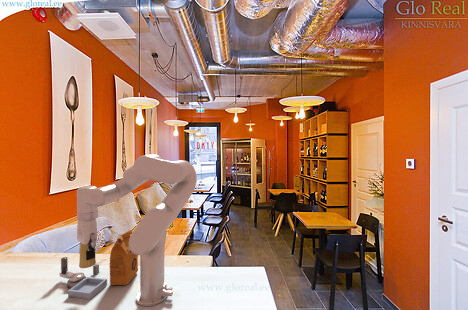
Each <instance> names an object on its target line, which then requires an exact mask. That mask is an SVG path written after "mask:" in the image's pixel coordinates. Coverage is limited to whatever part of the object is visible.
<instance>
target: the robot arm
mask: <svg viewBox="0 0 468 310" xmlns="http://www.w3.org/2000/svg"><path fill="white" fill-rule="evenodd" d="M197 178H198V177H197V172H196V169H195V167H194V165H193V164H192V163H190V162H189V161H187V160H175V161H171V160H166V159H165V160H164V158H163V157H162V156H161V155H158V154H144V155H141V156H139V157H137V158H136V159H135V161H134V162H133V165H132V166H130V167H129V168H127V169H125V170H124V171H123V173H122V178H120V179H119V180H117V181H115V182H113V183H111V184H108V185H105V186H100V187H97V186H95V185H84V186H80V187H78V188H77V189H76V220H77V228H76V240H77V241H78V242H79V243H80V242H81V243H82V244H83V245H87V251H86V260H90V259H93V258H95V259H96V245H97V241H98V224H97V222H98V221H97V219H98V218H99V207H102V206H105V205H108V204H110V203H113V202H117V201H119V200H120V199H122V198H124V197H125V196H126V195H129V194H130V193H132V192H133V191H134V190H136V189H137V188H138V187H140V186H141V185H143V184H145V183H147V182H148V181H155V182H158V183H162V184H167V185H173V186H172V187H171V188H170V189H169V190H168V192H167V194H166V195H165V197H164V198H163V199H162V201H160V203H158V204H157V205H154V206H153V207H151V208H150V209H149V210H148V211H147V212H146V213H145V214H144V215H143V217H142V219H141V220H140V222H139V223H138V224H137V225H136V227H135V229H134V230H133V231H132V234H131V235H130V239H129V248H130V250H131V252H132V253H134V254H136V255H138V256H140V257H139V258H140V259H139V261H140V262H139V263H140V265H139V267H140V268H139V275H140V279H139V280H140V281H139V282H140V284H139V287H140V288H139V289H140V290H139V291H138V292H137V294H136V297H135V300H136V303H137V304H138V305H140V306H144V307H151V306H155V305H159V304H160V303H162V302H163V301H165V299H167V297H173V293H174V291H173V289H174V288H173V287H172V286H171V287H168V284H167V282H165V252H166V251H165V249H166V248H165V247H166V240H167V229H168V228H169V227H170V226H171V225H172V224H173V223H174V222H175V221H176V219H177V217H178V216H179V214H180V213H181V211H182V210H183V208H184V207H185V205H186V203H187V202H188V201H189V199H190V197H191V196H192V194H193V193H194V190H195V189H196V185H197V181H198V180H197ZM89 241H91V242H90V243H88V242H89ZM89 244H91V245H90V247H89Z"/></svg>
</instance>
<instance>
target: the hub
mask: <svg viewBox="0 0 468 310" xmlns="http://www.w3.org/2000/svg"><path fill="white" fill-rule="evenodd" d="M86 277H87V276H86V275H84V279H85V278H86ZM84 279H82V280H84ZM82 280H81V281H82ZM81 281H79V282H81ZM79 282H75V283H71V282H69V279H68V280H67V283H66V284H67V286H66V288H67V289H68V290H70V289H71V288H72V287H74V286H75V285H77V284H78V283H79Z"/></svg>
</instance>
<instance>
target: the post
mask: <svg viewBox="0 0 468 310" xmlns="http://www.w3.org/2000/svg"><path fill="white" fill-rule="evenodd" d="M99 273H100V264H98V263H96V264H95V265H93V266H92V274H93V275H98V274H99Z"/></svg>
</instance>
